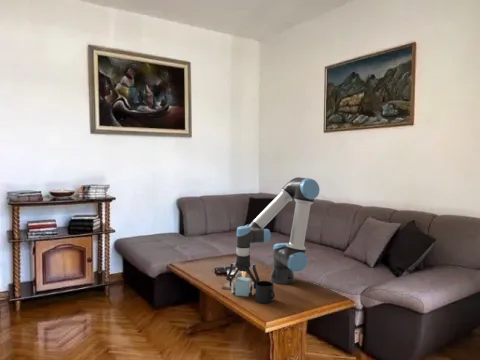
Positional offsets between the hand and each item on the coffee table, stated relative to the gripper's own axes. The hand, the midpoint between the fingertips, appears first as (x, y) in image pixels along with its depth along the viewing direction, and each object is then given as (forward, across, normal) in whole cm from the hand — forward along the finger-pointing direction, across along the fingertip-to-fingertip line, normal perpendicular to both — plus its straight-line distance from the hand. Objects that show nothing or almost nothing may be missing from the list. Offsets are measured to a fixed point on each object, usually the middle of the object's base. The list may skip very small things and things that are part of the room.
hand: (242, 293), depth 208 cm
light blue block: (0, 0, 0) cm, 0 cm away
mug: (0, -14, +8) cm, 16 cm away
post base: (0, +5, -13) cm, 14 cm away
